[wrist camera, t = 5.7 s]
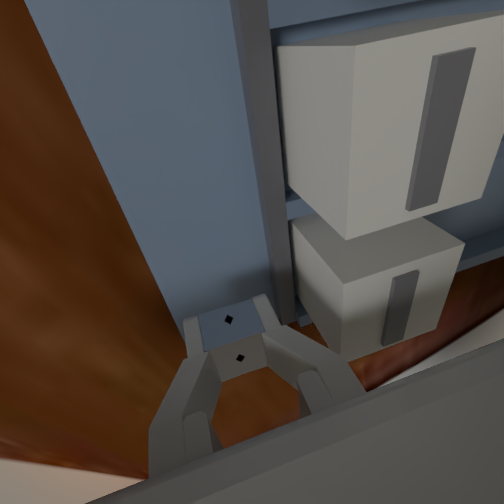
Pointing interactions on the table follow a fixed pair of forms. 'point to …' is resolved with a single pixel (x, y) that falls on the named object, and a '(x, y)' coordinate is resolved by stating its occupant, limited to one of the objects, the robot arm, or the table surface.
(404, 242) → the tab
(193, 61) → the switch bank
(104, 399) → the table surface
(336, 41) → the white slotted cube
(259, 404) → the table surface
